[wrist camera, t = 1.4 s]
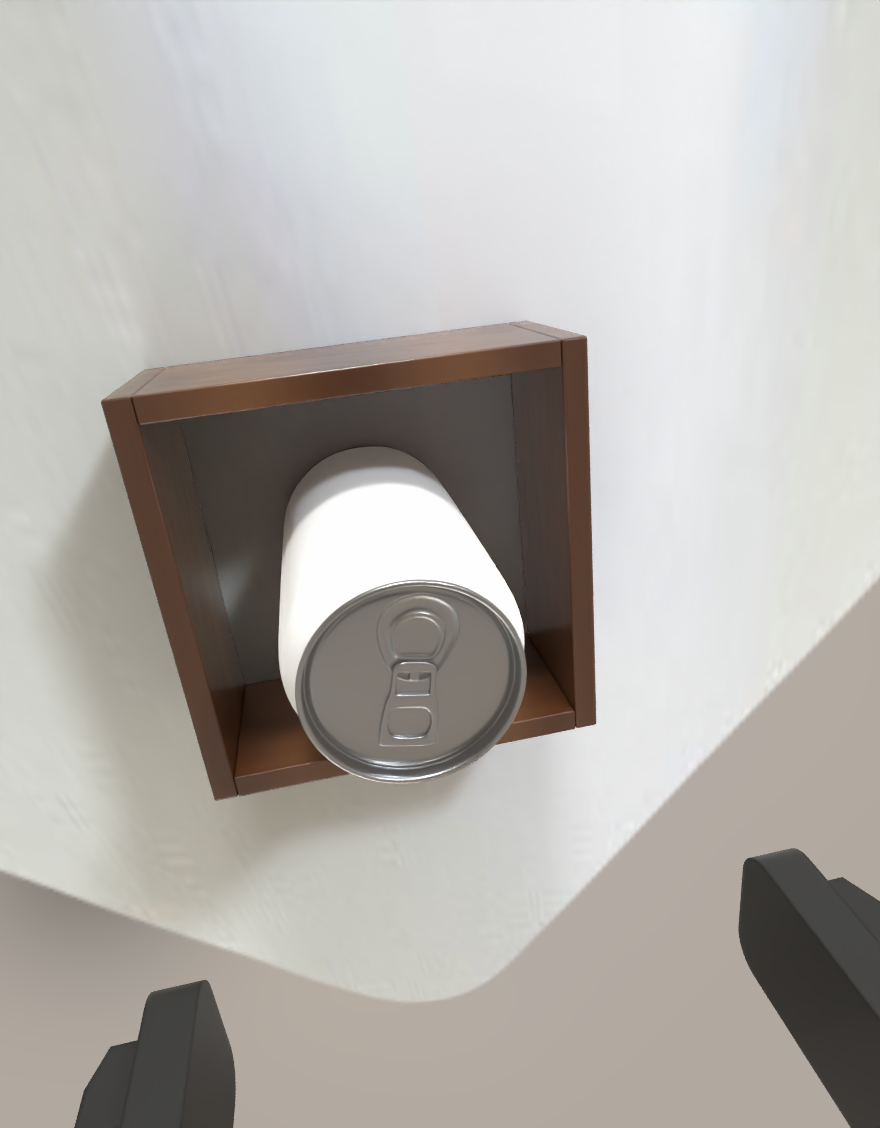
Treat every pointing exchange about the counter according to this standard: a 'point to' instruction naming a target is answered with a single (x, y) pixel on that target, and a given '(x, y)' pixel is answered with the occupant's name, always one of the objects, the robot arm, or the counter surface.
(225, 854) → the counter surface
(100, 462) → the counter surface
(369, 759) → the can
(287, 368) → the crate
